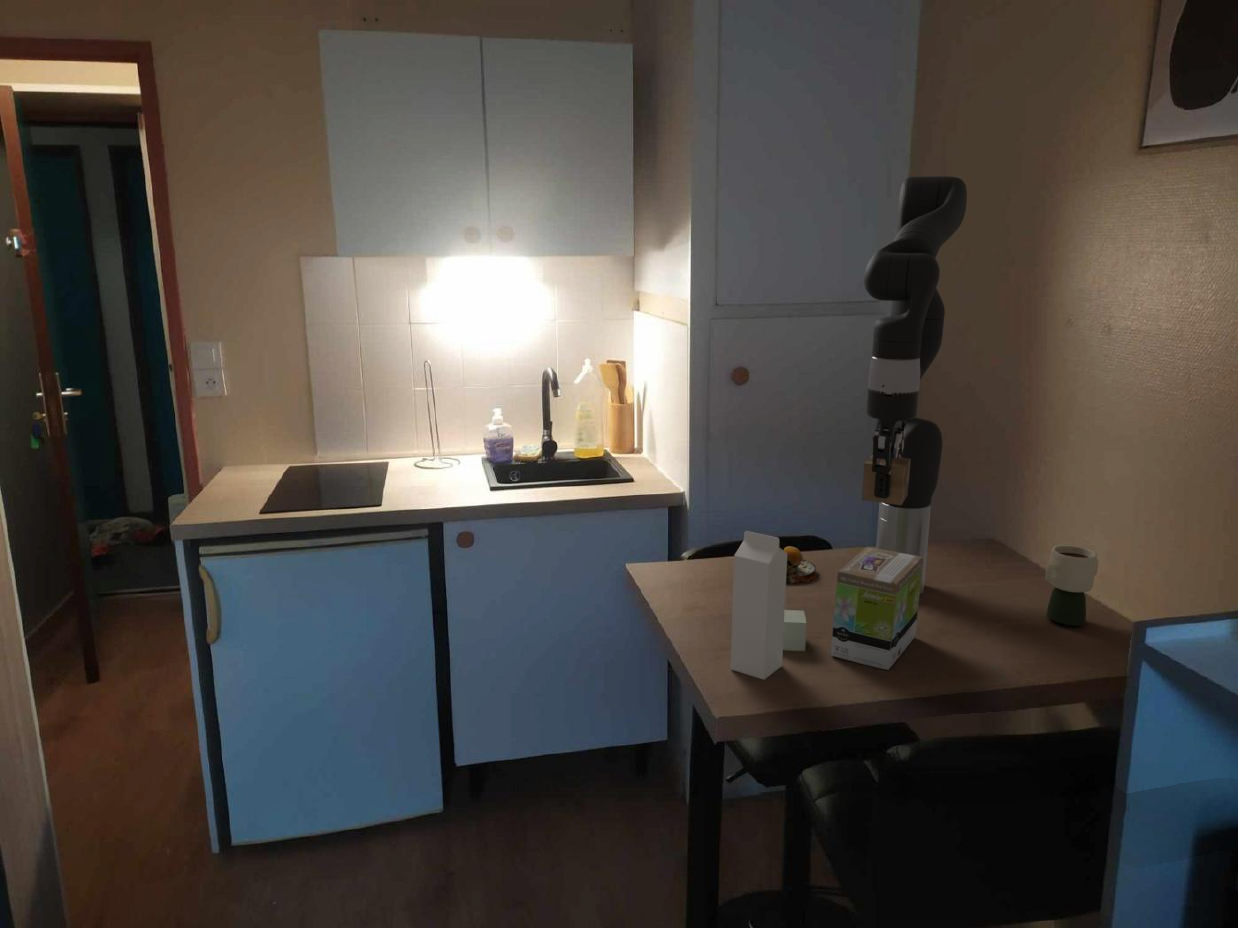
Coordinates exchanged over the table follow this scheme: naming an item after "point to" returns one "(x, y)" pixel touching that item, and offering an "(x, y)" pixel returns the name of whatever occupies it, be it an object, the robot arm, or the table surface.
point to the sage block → (794, 630)
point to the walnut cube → (897, 482)
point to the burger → (798, 567)
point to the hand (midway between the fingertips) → (885, 491)
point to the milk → (758, 606)
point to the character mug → (1070, 583)
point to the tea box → (876, 607)
